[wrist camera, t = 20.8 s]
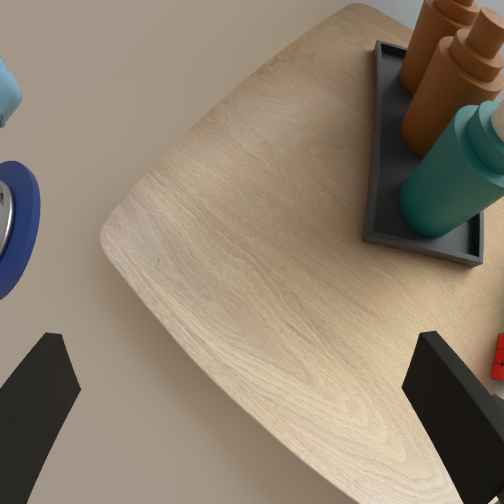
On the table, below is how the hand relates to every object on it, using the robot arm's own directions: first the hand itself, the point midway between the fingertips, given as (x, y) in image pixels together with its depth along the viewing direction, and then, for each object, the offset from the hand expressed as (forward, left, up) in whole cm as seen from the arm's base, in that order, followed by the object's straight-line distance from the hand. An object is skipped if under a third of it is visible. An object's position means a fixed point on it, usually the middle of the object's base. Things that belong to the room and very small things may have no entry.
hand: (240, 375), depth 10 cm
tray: (+13, +25, -18) cm, 34 cm away
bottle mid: (+13, +25, -18) cm, 34 cm away
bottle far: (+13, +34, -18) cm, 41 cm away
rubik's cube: (+27, +2, -18) cm, 33 cm away
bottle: (+13, +16, -18) cm, 28 cm away
